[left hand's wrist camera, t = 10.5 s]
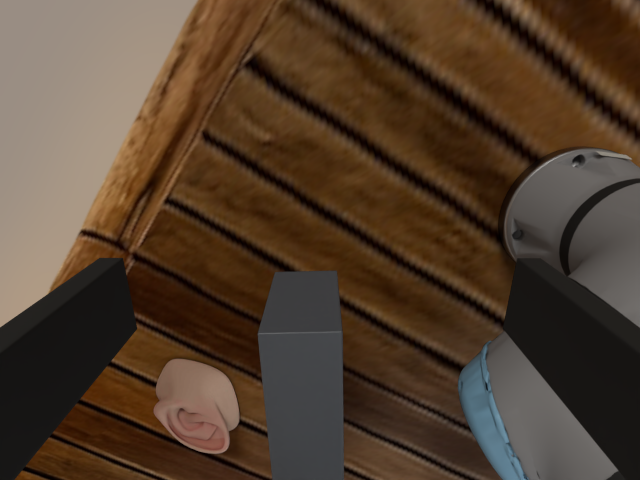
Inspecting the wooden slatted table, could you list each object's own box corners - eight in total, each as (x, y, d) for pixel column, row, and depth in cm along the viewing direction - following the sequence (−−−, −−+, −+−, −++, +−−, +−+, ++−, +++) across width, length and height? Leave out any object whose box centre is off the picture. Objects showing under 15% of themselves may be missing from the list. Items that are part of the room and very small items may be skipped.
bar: (274, 271, 29) (257, 333, 21) (336, 270, 29) (342, 331, 21) (291, 482, 37) (282, 584, 29) (339, 481, 37) (344, 584, 29)
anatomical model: (138, 377, 46) (231, 381, 46) (152, 356, 49) (237, 360, 49) (149, 455, 50) (234, 459, 50) (161, 431, 54) (240, 434, 54)
